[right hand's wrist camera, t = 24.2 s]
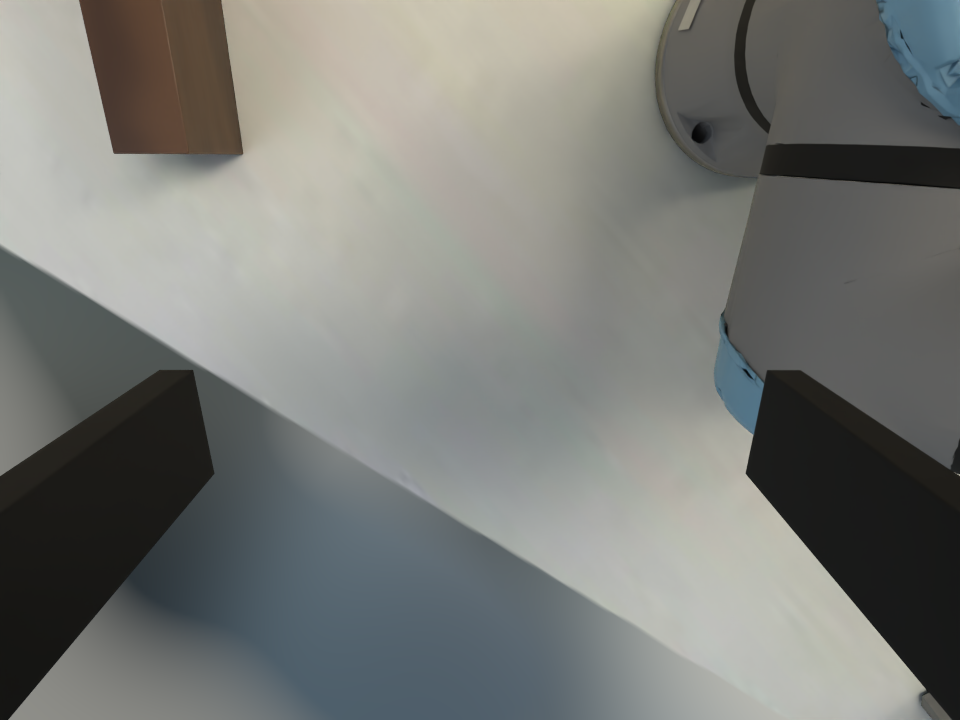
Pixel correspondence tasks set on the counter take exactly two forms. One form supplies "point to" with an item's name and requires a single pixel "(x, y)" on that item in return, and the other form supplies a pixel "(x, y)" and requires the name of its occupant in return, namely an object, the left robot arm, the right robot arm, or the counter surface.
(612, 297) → the counter surface
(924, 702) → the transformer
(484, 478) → the counter surface
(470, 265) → the counter surface
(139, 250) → the counter surface
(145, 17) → the beam
